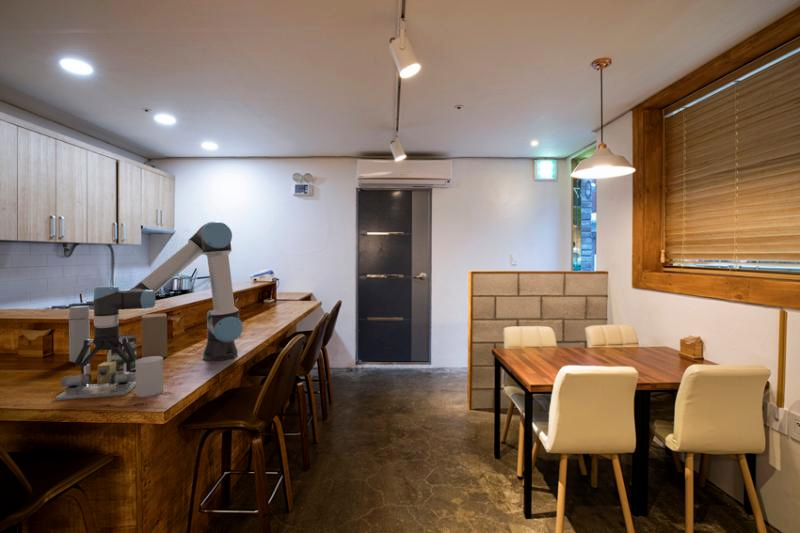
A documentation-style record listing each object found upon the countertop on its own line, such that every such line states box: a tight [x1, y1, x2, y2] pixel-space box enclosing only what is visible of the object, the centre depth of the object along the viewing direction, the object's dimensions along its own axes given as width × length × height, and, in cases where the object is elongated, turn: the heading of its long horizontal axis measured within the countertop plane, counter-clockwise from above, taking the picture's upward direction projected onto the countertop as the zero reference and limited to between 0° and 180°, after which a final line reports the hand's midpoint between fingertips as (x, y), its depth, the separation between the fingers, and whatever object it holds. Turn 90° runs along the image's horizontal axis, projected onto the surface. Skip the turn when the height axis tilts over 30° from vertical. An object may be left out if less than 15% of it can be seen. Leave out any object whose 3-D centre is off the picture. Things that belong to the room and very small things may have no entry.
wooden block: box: [141, 312, 168, 358], centre depth 176 cm, size 10×10×20 cm
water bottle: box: [67, 305, 91, 364], centre depth 167 cm, size 9×8×25 cm
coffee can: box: [106, 334, 138, 373], centre depth 155 cm, size 10×10×14 cm
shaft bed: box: [55, 371, 136, 401], centre depth 130 cm, size 21×11×7 cm, turn 105°
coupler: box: [96, 361, 116, 384], centre depth 141 cm, size 5×4×7 cm
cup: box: [135, 356, 164, 398], centre depth 130 cm, size 8×8×12 cm
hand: (106, 380), depth 141 cm, fingers open, 12 cm apart
